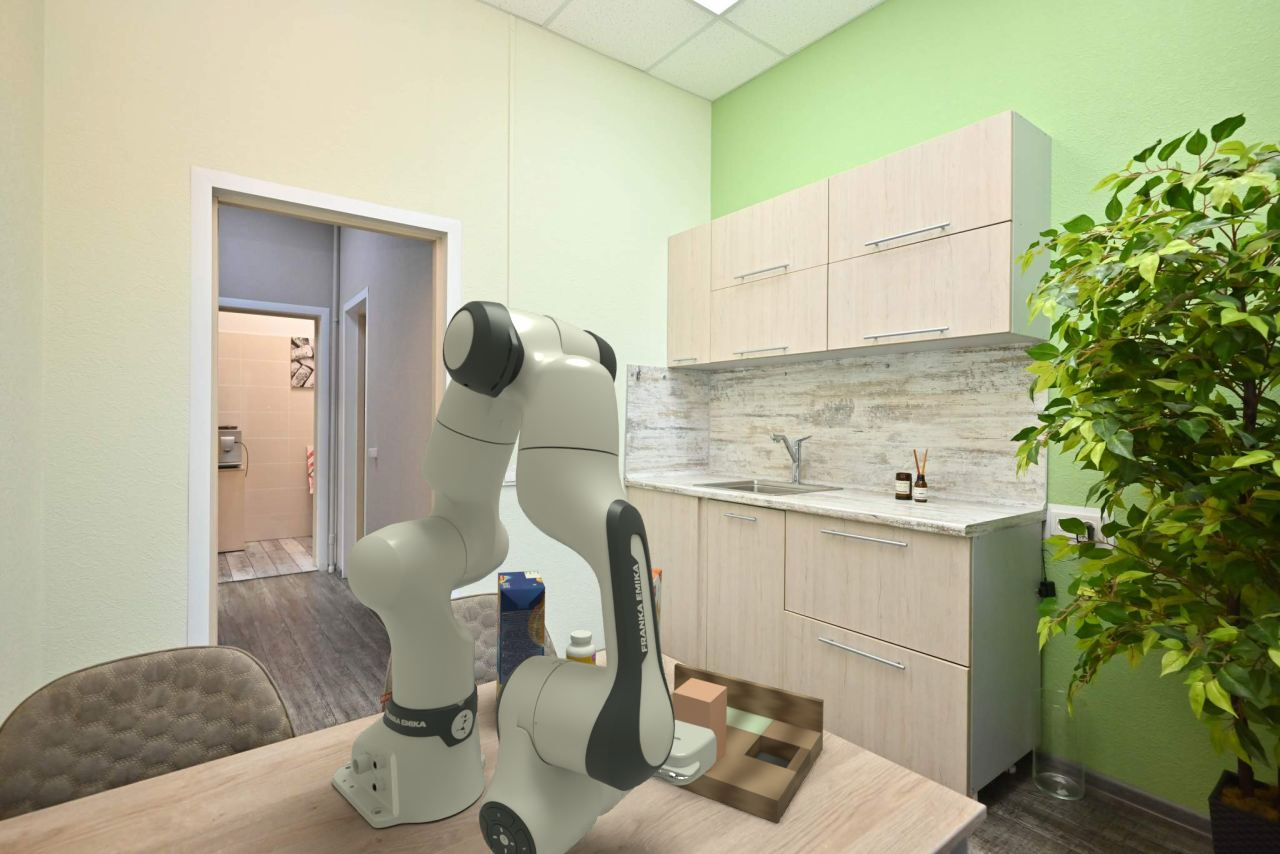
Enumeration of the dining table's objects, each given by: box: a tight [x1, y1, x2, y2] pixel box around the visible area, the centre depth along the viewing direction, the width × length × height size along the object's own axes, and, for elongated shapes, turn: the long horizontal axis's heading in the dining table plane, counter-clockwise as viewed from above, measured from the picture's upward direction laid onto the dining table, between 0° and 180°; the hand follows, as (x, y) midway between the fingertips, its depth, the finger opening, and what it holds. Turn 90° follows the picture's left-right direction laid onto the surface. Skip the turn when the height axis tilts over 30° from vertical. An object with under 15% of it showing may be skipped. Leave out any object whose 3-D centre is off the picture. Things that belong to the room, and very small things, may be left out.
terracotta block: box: [672, 678, 727, 772], centre depth 92 cm, size 6×6×10 cm
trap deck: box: [670, 662, 825, 824], centre depth 98 cm, size 27×22×8 cm
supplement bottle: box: [565, 629, 597, 665], centre depth 119 cm, size 6×6×11 cm
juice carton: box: [495, 570, 546, 702], centre depth 110 cm, size 12×8×24 cm, turn 15°
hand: (664, 709), depth 81 cm, fingers closed
